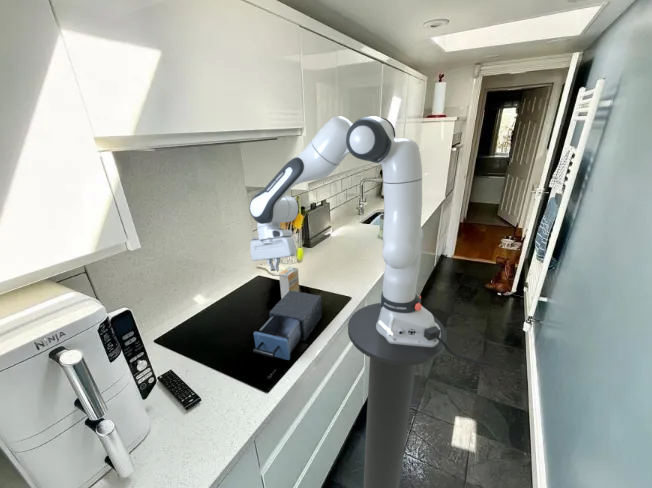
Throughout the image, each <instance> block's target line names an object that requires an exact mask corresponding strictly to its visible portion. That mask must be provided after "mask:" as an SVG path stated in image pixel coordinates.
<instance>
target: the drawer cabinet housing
mask: <svg viewBox="0 0 652 488" xmlns="http://www.w3.org/2000/svg"><path fill="white" fill-rule="evenodd" d="M268 314H269V319H270V318H271V317H272V316H273V315H277V316H282V317H286V318H291V319H296V320H301V321H302V333H303V337H302V338H301V340H300V341H301V342H306V341H307V340H308V338H309V336H310V335H311V333H312V332H313V330H314V329H315V328H316V326H317V324H318V323H319V321H320V320H321V319H322V317H323V307H322V295H318V294H312V293H307V292H302V291H299V292H296V291H289V292H288V293H287V294H286V295H285V296H284V297H283V298H282V299H280V300H279V301H278V302H277V303H276V304H275V305H274V307H273V308H271V310H269V312H268Z"/></svg>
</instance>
